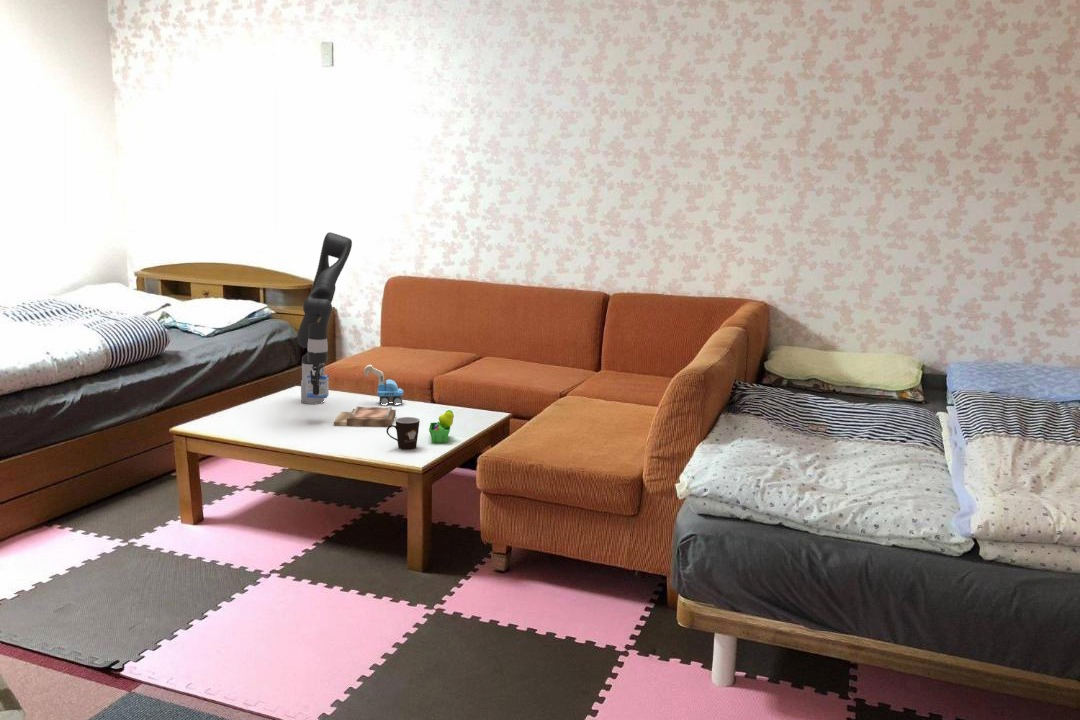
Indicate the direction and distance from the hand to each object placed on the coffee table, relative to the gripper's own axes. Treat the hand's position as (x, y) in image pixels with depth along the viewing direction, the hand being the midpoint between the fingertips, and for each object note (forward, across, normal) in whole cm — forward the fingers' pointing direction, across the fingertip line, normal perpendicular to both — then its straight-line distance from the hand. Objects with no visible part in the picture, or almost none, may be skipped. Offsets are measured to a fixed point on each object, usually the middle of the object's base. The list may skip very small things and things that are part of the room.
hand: (317, 392), depth 330 cm
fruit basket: (+11, +21, +50) cm, 56 cm away
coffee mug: (+11, +32, +38) cm, 51 cm away
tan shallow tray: (+11, -2, +18) cm, 22 cm away
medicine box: (+2, 0, 0) cm, 2 cm away
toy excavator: (+12, -32, +21) cm, 40 cm away
